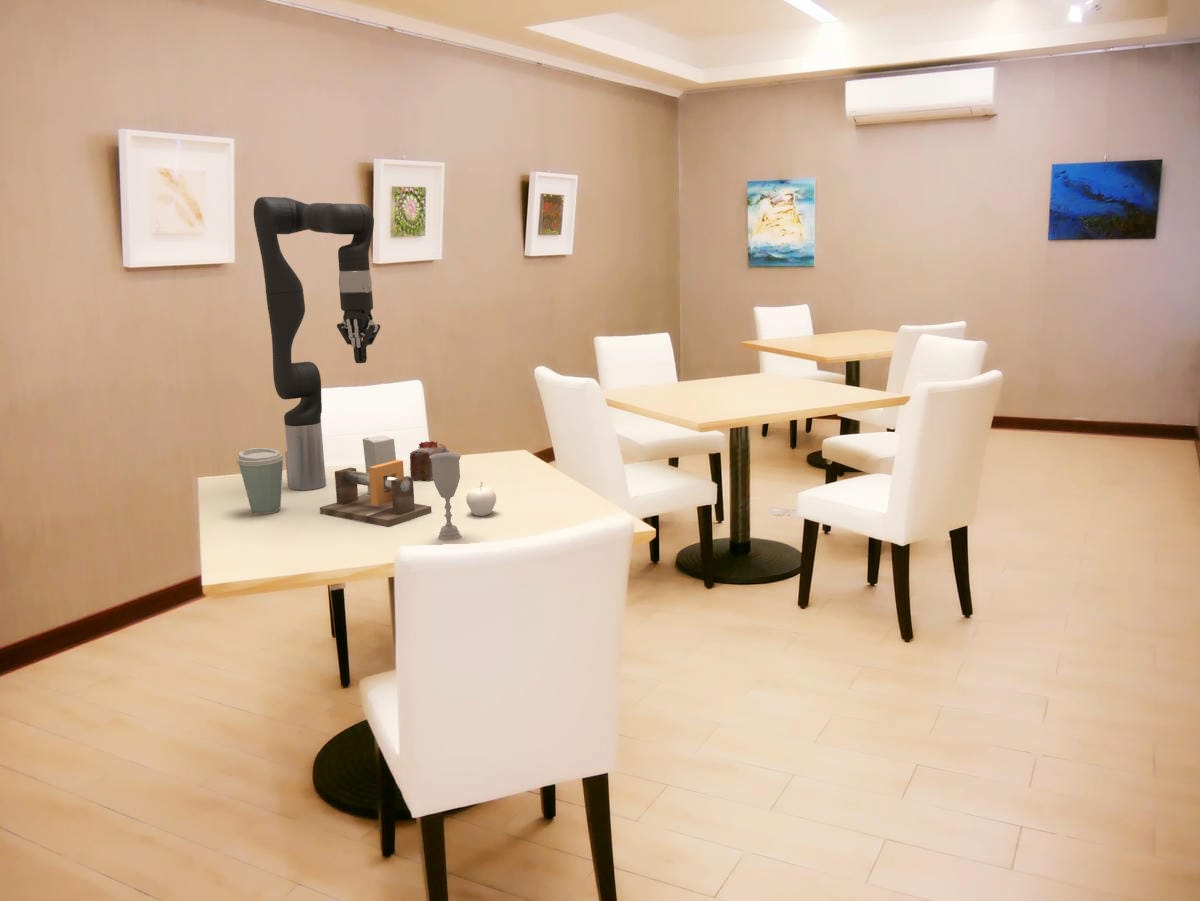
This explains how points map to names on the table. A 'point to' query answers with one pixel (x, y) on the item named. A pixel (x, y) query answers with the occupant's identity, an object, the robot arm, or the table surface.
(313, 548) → the table surface
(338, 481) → the pipe stand
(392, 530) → the table surface
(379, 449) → the skincare box
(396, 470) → the square ring
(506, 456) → the table surface
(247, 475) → the disposable coffee cup
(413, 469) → the food item
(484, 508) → the plain white apple
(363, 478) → the pipe
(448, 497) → the chalice
